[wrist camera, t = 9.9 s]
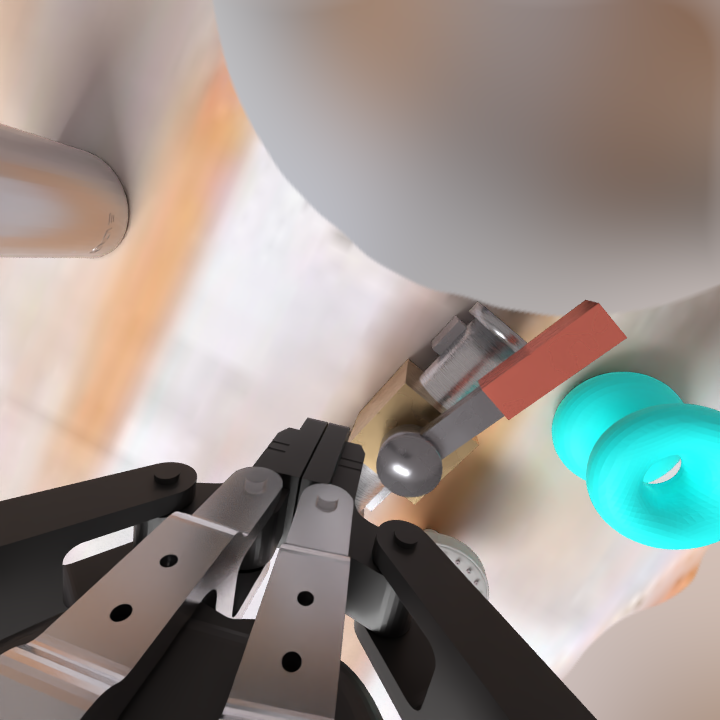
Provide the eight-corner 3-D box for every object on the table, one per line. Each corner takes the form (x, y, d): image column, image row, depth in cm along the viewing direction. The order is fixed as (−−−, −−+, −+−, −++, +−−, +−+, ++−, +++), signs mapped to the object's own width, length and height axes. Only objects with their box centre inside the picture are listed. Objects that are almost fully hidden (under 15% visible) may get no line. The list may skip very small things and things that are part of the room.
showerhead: (464, 532, 29) (507, 633, 31) (455, 480, 36) (491, 565, 38) (353, 561, 32) (400, 653, 33) (365, 506, 38) (403, 585, 40)
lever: (406, 490, 28) (405, 508, 26) (367, 447, 28) (362, 462, 26) (619, 342, 24) (638, 350, 21) (574, 288, 23) (590, 291, 21)
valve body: (312, 464, 38) (286, 512, 31) (467, 293, 32) (481, 303, 24) (366, 507, 38) (353, 565, 31) (530, 347, 32) (562, 372, 25)
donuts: (572, 533, 25) (638, 394, 22) (530, 457, 35) (572, 353, 32) (731, 579, 24) (821, 441, 21) (643, 488, 34) (697, 385, 31)
